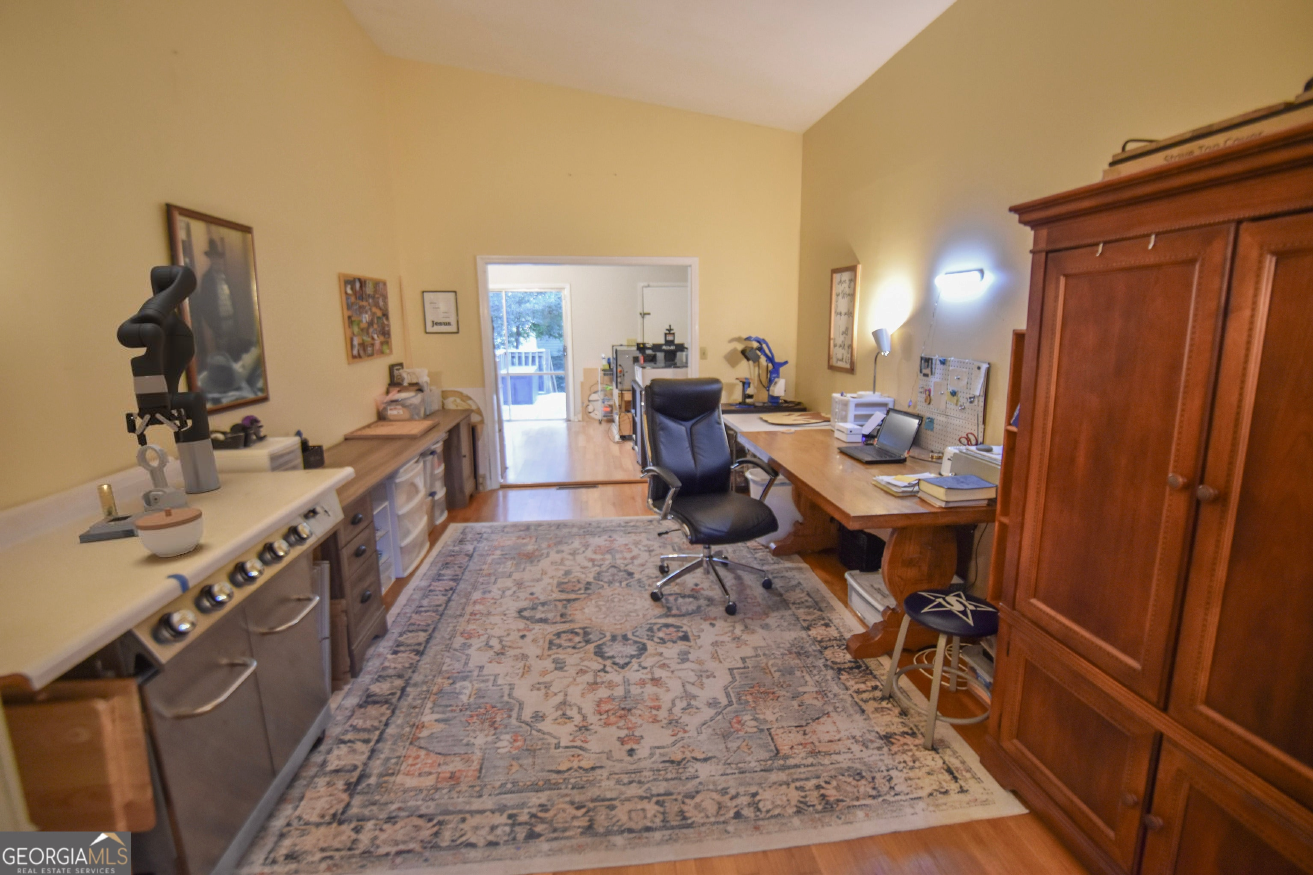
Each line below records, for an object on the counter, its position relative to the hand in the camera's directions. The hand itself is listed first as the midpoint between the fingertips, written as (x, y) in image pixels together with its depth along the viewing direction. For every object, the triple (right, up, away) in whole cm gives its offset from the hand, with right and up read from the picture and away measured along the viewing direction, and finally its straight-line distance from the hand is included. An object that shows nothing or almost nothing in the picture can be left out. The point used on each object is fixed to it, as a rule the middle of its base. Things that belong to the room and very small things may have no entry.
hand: (161, 444), depth 179 cm
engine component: (+2, -20, -1) cm, 20 cm away
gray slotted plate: (+9, -23, -19) cm, 31 cm away
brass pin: (-2, -23, -14) cm, 27 cm away
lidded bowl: (+33, -26, -35) cm, 54 cm away
